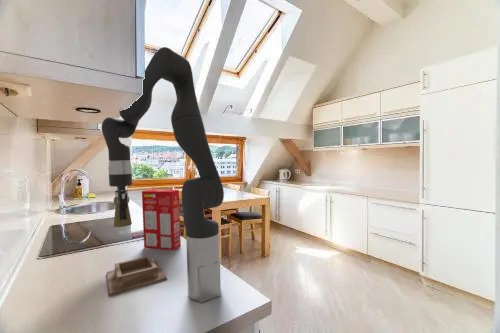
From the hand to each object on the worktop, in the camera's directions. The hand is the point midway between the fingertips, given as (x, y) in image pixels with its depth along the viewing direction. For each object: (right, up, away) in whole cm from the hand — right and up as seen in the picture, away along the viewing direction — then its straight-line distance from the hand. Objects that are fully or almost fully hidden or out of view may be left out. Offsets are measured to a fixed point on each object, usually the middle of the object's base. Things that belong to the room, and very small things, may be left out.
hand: (122, 218), depth 91 cm
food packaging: (+9, -16, +17) cm, 25 cm away
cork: (0, -2, 0) cm, 2 cm away
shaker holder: (+10, -17, -10) cm, 22 cm away
